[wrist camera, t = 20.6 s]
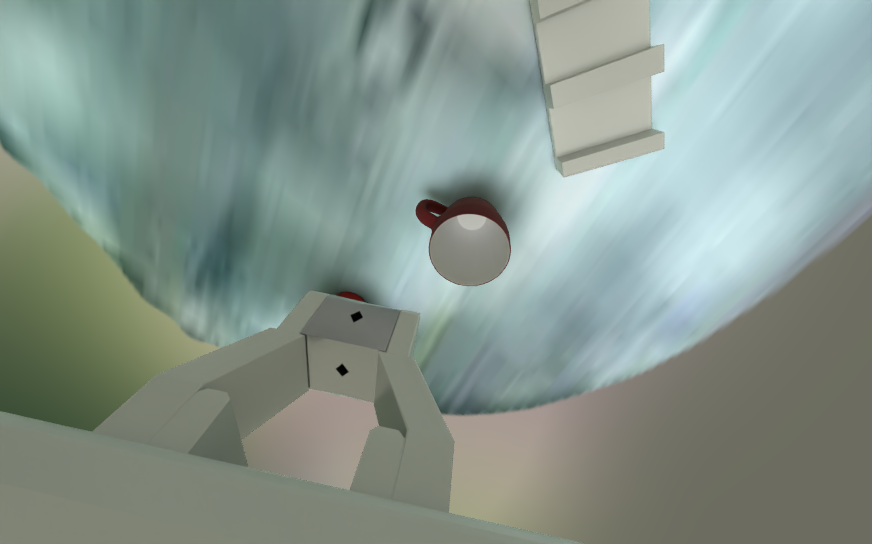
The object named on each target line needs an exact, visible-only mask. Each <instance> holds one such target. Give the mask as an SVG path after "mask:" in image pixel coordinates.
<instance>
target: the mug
mask: <svg viewBox="0 0 872 544" xmlns="http://www.w3.org/2000/svg"><path fill="white" fill-rule="evenodd" d="M430 212H433V213H436V214H439V215H440V216H439V217H437V216H435V215H433V214H432V213H430ZM416 216H417V217H418V219H419V220H420V222H421V223H423V224H424V225H425V226H427V227H429V228H431V229H432V234H431V238H430V242H429V256H430V259H431V262H432V264H433V266H434V268H435V269H436V270H437V272H438V273H439V274H440V275H441V276H442V277H444V278H445V279H447V280H448V281H450V282H453V283H455V284H458V285H463V286H477V285H482V284H485V283H488V282H490V281H492V280H493V279H495V278H496V277H498V276H499V275H500V274H501V273H502V272H503V270H504V269H505V268H506V266H507V264H508V262H509V259H510V253H511V245H510V237H509V232H508V229H507V226H506V224H505V222H504V221H503V219H502V217H501V216H500V215H499V213H498V212H497V211H496V209H495V208H494V207H493V206H492V205H491V204H490V203H489V202H487V201H486V200H483V199H481V198H477V197H467V198H463V199H460V200H458V201H456V202H455V203H453V204H452V205H451V206H450V207H446V206H444V205H442V204H440V203H438V202H436V201H433V200H428V199H426V200H422V201H420V202H419V203H418V205H417V207H416Z"/></svg>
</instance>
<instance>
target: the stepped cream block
mask: <svg viewBox="0 0 872 544" xmlns="http://www.w3.org/2000/svg"><path fill="white" fill-rule="evenodd" d="M530 6H531V12H532V19H533V25H534V31H535V38H536V44H537V50H538V57H539V63H540V70H541V76H542V82H543V89H544V95H545V101H546V108H547V114H548V120H549V127H550V133H551V139H552V146H553V152H554V158H555V165H556V169H557V170H558V171H559V172H560V174H561V175H562V176H563V177H568V176H571V175H575V174H578V173H582V172H585V171H589V170H592V169H596V168H599V167H603V166H606V165H610V164H613V163H617V162H620V161H624V160H627V159H631V158H634V157H638V156H641V155H645V154H648V153H651V152H655V151H658V150H662V149H664V132H661V131H658V130H654V129H652V104H651V76H652V75H655V74H658V73H661V72H664V44H662V45H657V46H652V47H650V0H530Z"/></svg>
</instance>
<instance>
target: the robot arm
mask: <svg viewBox="0 0 872 544" xmlns="http://www.w3.org/2000/svg"><path fill="white" fill-rule="evenodd" d="M419 321H420V313H417V312H412V311H406V310H399V309H394V308H389V307H384V306H379V305H374V304H370V303H366V302H361V301H357V300H353V299H349V298H344V297H340V296H336V295H332V294H330V295H329V294H326V293H322V292H317V291H313V290H312V291H310V292H308V293H307V294H306V295H305V296H304V297H303V298H302V300H301V301H300V302H299V303H298V304H297V305H296V307H295V308H294V309H293V310H292V311H291V313H290V314H289V315H288V316H287V317H286V318H285V320H284V321H283V322H282V323H281V324H280V326H279V327H278V328H277V329H275V328H269V329H267V330H264V331H262V332H259V333H257V334H254V335H252V336H250V337H247V338H245V339H242V340H240V341H237V342H235V343H233V344H230V345H228V346H225V347H223V348H220V349H218V350H216V351H213V352H211V353H208V354H206V355H203V356H201V357H198V358H196V359H194V360H191V361H189V362H187V363H184V364H182V365H179V366H177V367H174V368H172V369H169V370H167V371H164V372H162V373H159V374H157V375H156V376H155V377H153V378H152V379H151V380H150V381H149V382H148V383H147V384H146V385H144V386H143V387H142V388H141V389H140V390H139V391H138V392H137V393H135V394H134V395H133V396H132V397H131V398H130V399H129V400H128V401H126V402H125V403H124V404H123V405H122V406H121V407H120V408H118V410H116V411H115V412H114V413H113V414H112V415H111V416H109V417H108V418H107V419H106V420H105V421H104V422H103V423H102V424H100V425H99V426H98V427H97V428H96V429H95V430H94V431H93V432H89V431H85V430H80V429H76V428H72V427H67V426H63V425H58V424H54V423H49V422H45V421H41V420H36V419H32V418H27V417H23V416H19V415H14V414H9V413H5V412H1V411H0V544H585V543H580V542H575V541H571V540H567V539H563V538H558V537H554V536H549V535H544V534H540V533H536V532H532V531H527V530H522V529H518V528H514V527H509V526H505V525H500V524H496V523H492V522H487V521H483V520H478V519H474V518H469V517H465V516H460V515H456V514H452V513H449V503H450V491H451V478H452V465H453V453H454V440H453V437H452V435H451V433H450V431H449V429H448V427H447V425H446V423H445V421H444V419H443V417H442V415H441V413H440V411H439V408H438V406H437V404H436V402H435V400H434V398H433V396H432V394H431V392H430V390H429V388H428V386H427V384H426V382H425V380H424V378H423V375H422V373H421V371H420V369H419V367H418V365H417V363H416V361H415V359H414V358H413V353H414V348H415V343H416V337H417V332H418V326H419ZM309 389H314V390H320V391H325V392H330V393H336V394H341V395H345V396H349V397H353V398H357V399H361V400H365V401H369V402H373V403H374V407H375V411H376V415H377V419H378V423H379V426H377V427H375V428H374V429H372V430H370V432H369V435H368V438H367V441H366V444H365V447H364V450H363V452H362V455H361V458H360V461H359V464H358V467H357V470H356V473H355V476H354V479H353V482H352V485H351V487H350V490H346V489H341V488H337V487H333V486H328V485H324V484H319V483H315V482H311V481H306V480H301V479H297V478H293V477H289V476H284V475H280V474H275V473H271V472H267V471H262V470H258V469H253V468H249V467H248V464H247V459H246V456H245V452H244V448H243V445H242V441H241V440H242V439H243V438H245V437H246V436H247V435H249V434H250V433H251V432H253V431H254V430H255V429H257V428H258V427H260V426H261V425H262V424H263V423H265V422H266V421H268V420H269V419H270V418H272V417H273V416H275V415H276V414H277V413H278V412H280V411H281V410H283V409H284V408H285V407H287V406H288V405H289V404H291V403H292V402H294V401H295V400H296V399H298V398H299V397H300V396H302V395H303V394H304V393H305V392H307V391H308V390H309Z"/></svg>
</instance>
